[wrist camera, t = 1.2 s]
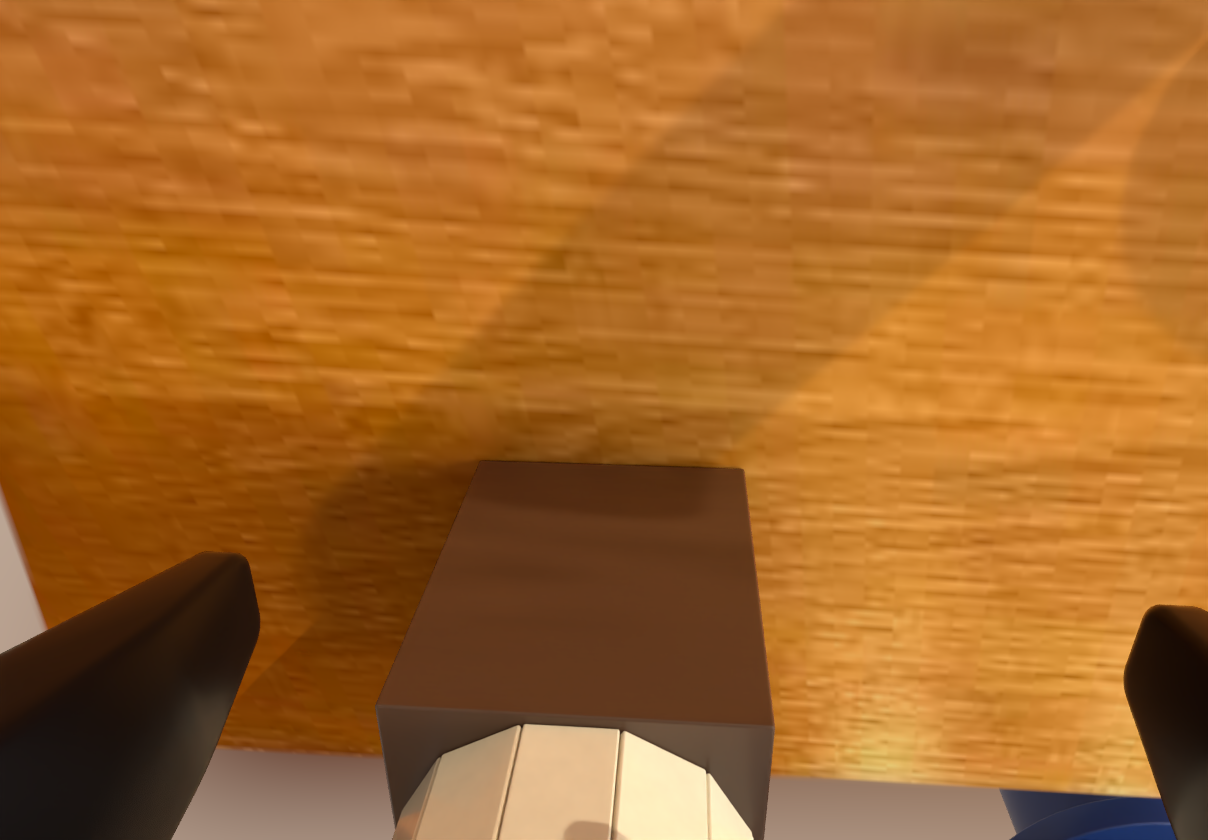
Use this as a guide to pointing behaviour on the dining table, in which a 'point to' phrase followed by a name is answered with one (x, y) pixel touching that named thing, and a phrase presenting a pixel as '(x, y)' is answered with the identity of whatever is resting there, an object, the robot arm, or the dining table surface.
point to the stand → (591, 623)
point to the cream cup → (567, 791)
